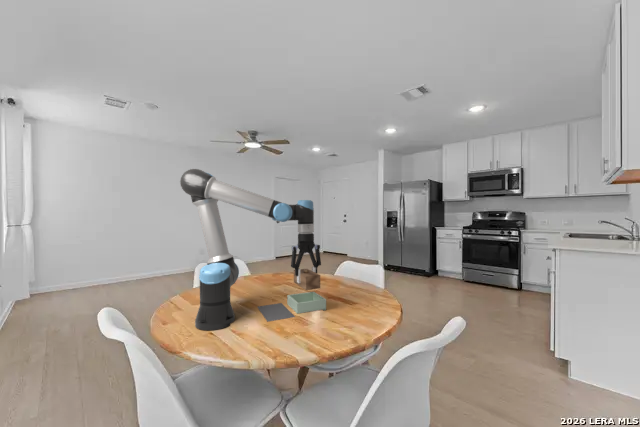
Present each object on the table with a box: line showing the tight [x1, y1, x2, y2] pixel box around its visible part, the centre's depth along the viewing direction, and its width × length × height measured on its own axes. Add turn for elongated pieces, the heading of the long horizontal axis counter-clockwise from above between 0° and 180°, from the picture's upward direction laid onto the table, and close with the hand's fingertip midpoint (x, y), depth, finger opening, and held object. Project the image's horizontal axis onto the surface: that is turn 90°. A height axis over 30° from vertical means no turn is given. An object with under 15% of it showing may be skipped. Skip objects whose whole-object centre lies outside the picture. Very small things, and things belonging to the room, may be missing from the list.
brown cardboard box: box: [293, 268, 321, 291], centre depth 128 cm, size 7×16×7 cm, turn 25°
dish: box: [286, 291, 327, 315], centre depth 129 cm, size 14×14×5 cm
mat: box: [256, 302, 296, 323], centre depth 122 cm, size 12×20×1 cm, turn 25°
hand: (306, 281), depth 129 cm, fingers closed on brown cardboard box, 7 cm apart
